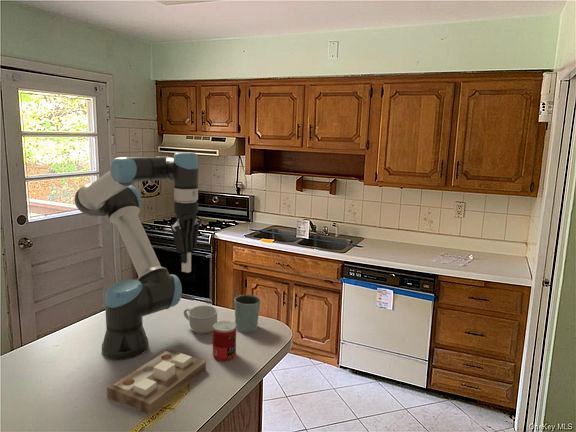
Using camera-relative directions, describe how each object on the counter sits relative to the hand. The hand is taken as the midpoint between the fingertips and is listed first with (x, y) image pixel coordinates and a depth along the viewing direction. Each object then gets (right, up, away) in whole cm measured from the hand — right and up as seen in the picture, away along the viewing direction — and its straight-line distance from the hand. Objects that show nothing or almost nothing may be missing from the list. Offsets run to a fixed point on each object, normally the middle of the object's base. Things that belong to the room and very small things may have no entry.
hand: (186, 271), depth 141 cm
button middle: (-3, -31, -13) cm, 33 cm away
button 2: (0, -31, -6) cm, 31 cm away
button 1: (-7, -33, -20) cm, 39 cm away
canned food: (+12, -30, +5) cm, 32 cm away
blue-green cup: (+17, -26, +26) cm, 41 cm away
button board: (-5, -32, -12) cm, 35 cm away
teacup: (0, -26, +24) cm, 35 cm away
